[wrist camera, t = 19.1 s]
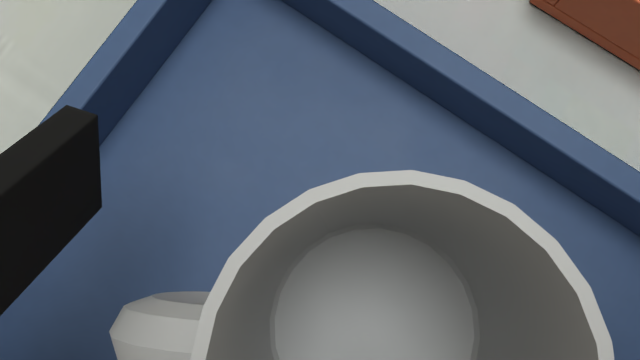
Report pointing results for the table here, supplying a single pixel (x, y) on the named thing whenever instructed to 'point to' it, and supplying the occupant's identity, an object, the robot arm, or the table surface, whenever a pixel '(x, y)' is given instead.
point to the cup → (381, 284)
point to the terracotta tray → (602, 23)
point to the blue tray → (299, 155)
